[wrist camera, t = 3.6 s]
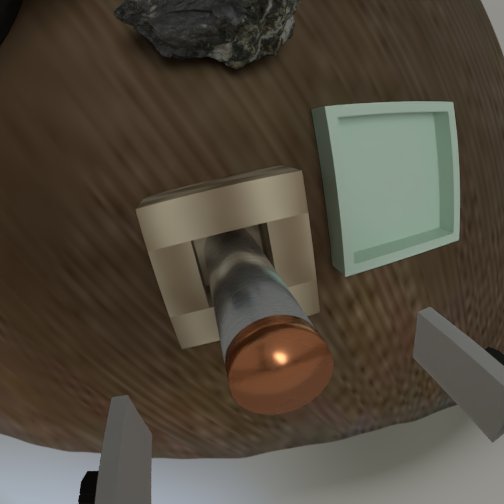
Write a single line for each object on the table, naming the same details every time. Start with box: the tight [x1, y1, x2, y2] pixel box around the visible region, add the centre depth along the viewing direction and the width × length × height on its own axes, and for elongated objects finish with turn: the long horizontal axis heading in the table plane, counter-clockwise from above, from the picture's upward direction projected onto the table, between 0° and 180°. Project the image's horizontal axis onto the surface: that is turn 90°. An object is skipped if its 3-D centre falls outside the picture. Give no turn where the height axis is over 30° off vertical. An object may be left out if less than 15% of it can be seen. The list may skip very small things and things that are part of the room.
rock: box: [114, 0, 301, 69], centre depth 19 cm, size 12×10×10 cm
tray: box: [311, 102, 460, 277], centre depth 28 cm, size 15×15×3 cm
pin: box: [204, 228, 334, 415], centre depth 20 cm, size 4×4×16 cm
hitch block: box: [135, 165, 320, 349], centre depth 26 cm, size 12×12×5 cm
